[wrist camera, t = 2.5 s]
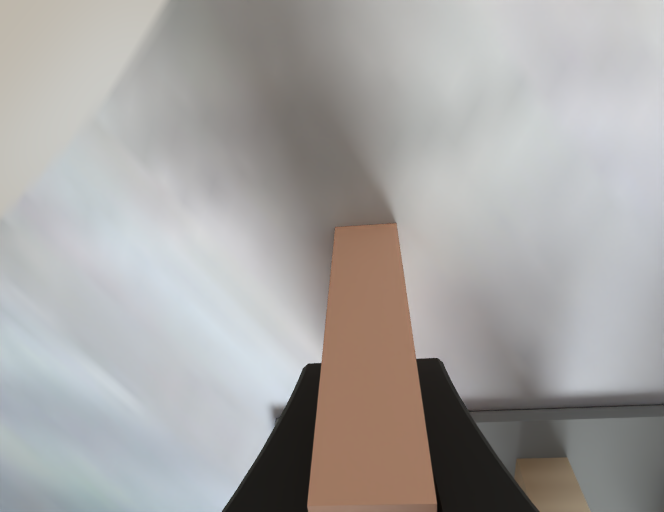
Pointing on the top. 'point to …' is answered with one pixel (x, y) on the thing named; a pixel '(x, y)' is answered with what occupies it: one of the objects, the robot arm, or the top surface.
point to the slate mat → (589, 449)
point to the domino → (369, 385)
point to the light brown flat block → (550, 484)
